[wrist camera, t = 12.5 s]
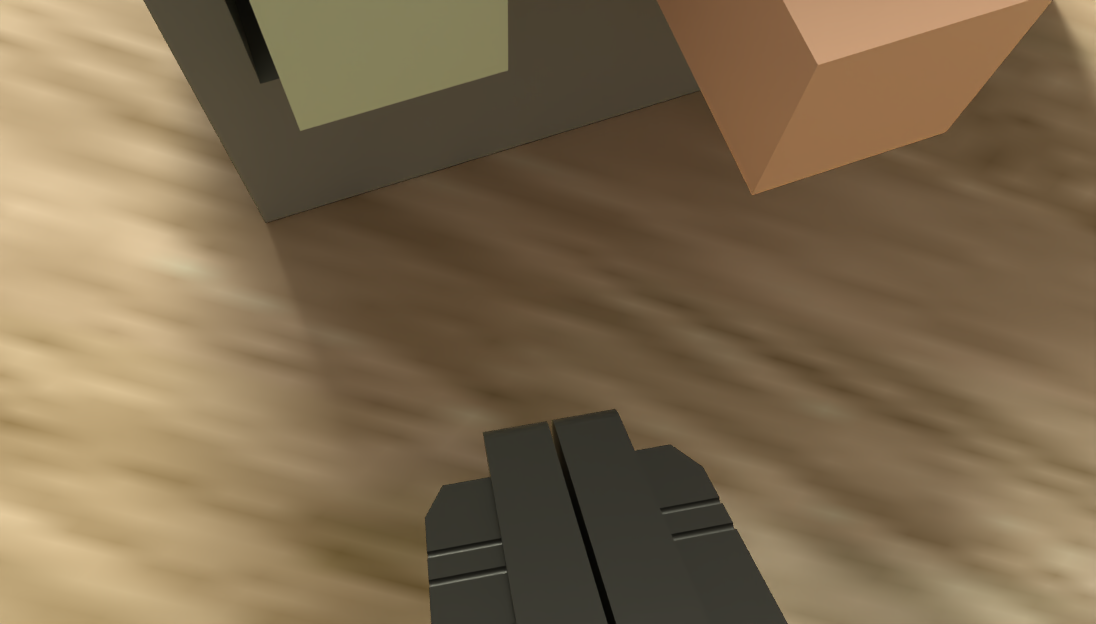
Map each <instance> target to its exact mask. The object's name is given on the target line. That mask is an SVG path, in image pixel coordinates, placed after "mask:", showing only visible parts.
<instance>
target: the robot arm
mask: <svg viewBox="0 0 1096 624" xmlns="http://www.w3.org/2000/svg"><path fill="white" fill-rule="evenodd" d="M551 428H552V435H551V432H550V429H549V426H548V423H547V421H545V422H540V423H534V424H528V425H523V426H517V427H511V428H505V429H500V430H494V431H488V432H483V436H484V442H485V448H486V455H487V461H488V467H489V473H490V477H488V478H482V479H477V480H471V481H466V482H460V483H455V484H449V485H443V486H442V488H441V490H440V491H439V493H438V495H437V497H436V499H435V501H434V502H433V504H432V506H431V508H430V510H429V512H428V513H427V515H426V517H425V525H426V542H427V554H428V575H429V584H430V587H429V592H430V609H431V624H788V623H787V622H786V620H785V618H784V616H783V614H782V612H781V611H780V609H779V607H778V605H777V603H776V601H775V599H774V598H773V596H772V594H771V592H770V590H769V588H768V586H767V585H766V583H765V581H764V579H763V577H762V575H761V574H760V572H759V570H758V568H757V566H756V564H755V562H754V561H753V559H752V557H751V555H750V553H749V551H748V550H747V548H746V546H745V544H744V542H743V540H742V538H741V537H740V535H739V533H738V531H737V529H734V527H733V522H732V520H731V518H730V516H729V514H728V513H727V511H726V509H725V507H724V505H723V503H720V500H719V496H718V494H717V492H716V490H715V489H714V487H713V485H712V483H711V481H710V479H709V478H708V476H707V474H706V472H705V470H704V468H703V467H702V466H701V465H699V464H698V463H696V462H695V461H693V460H692V459H691V458H689V457H688V456H686V455H685V454H683V453H682V452H681V451H679V450H678V449H676V448H675V447H673V446H672V445H665V446H659V447H654V448H648V449H643V450H637V451H635V450H634V448H633V446H632V444H631V441H630V439H629V437H628V434H627V432H626V430H625V428H624V425H623V423H622V421H621V418H620V416H619V414H618V412H617V411H616V410H615V409H613V410H607V411H601V412H596V413H590V414H584V415H578V416H573V417H567V418H561V419H556V420H552V422H551Z"/></svg>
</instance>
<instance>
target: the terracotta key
mask: <svg viewBox="0 0 1096 624" xmlns="http://www.w3.org/2000/svg"><path fill="white" fill-rule="evenodd" d="M657 2H658V4H659V6H660V8H661V10H662V12H663V14H664V16H665V18H666V21H667V23H668V25H669V27H670V29H671V31H672V33H673V35H674V37H675V39H676V41H677V43H678V45H679V47H680V49H681V51H682V53H683V55H684V57H685V59H686V61H687V64H688V66H689V68H690V70H691V72H692V74H693V76H694V78H695V80H696V82H697V84H698V86H699V88H700V90H701V92H702V94H703V96H704V98H705V100H706V102H707V104H708V107H709V109H710V111H711V113H712V115H713V117H714V119H715V121H716V123H717V125H718V127H719V129H720V131H721V133H722V135H723V137H724V139H725V141H726V143H727V145H728V147H729V150H730V152H731V154H732V156H733V158H734V160H735V162H736V164H737V166H738V168H739V170H740V172H741V174H742V176H743V178H744V180H745V182H746V184H747V186H748V188H749V190H750V193H751V195H755V194H758V193H761V192H764V191H767V190H770V189H773V188H776V187H779V186H782V185H785V184H789V183H792V182H795V181H798V180H801V179H804V178H807V177H810V176H813V175H816V174H819V173H822V172H825V171H828V170H832V169H835V168H838V167H841V166H844V165H847V164H850V163H853V162H856V161H859V160H862V159H865V158H868V157H871V156H874V155H878V154H881V153H884V152H887V151H890V150H893V149H896V148H899V147H902V146H905V145H908V144H911V143H914V142H917V141H921V140H924V139H927V138H930V137H933V136H936V135H939V134H942V133H945V132H947V130H948V129H949V128H950V127H951V125H952V124H953V123H954V122H955V120H956V119H957V118H958V117H959V116H960V114H961V113H962V112H963V111H964V109H965V108H966V107H967V106H968V104H969V103H970V102H971V101H972V99H973V98H974V97H975V96H976V94H977V93H978V92H979V91H980V90H981V88H982V87H983V86H984V85H985V83H986V82H987V81H988V80H989V78H990V77H991V76H992V75H993V73H994V72H995V71H996V70H997V68H998V67H999V66H1000V65H1001V64H1002V62H1003V61H1004V60H1005V59H1006V57H1007V56H1008V55H1009V54H1010V52H1011V51H1012V50H1013V49H1014V47H1015V46H1016V45H1017V44H1018V42H1019V41H1020V40H1021V39H1022V38H1023V36H1024V35H1025V34H1026V33H1027V31H1028V30H1029V29H1030V28H1031V26H1032V25H1033V24H1034V23H1035V21H1036V20H1037V19H1038V18H1039V16H1040V15H1041V14H1042V13H1043V12H1044V10H1045V9H1046V8H1047V7H1048V5H1049V4H1050V3H1051V2H1052V0H657Z"/></svg>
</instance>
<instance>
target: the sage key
mask: <svg viewBox="0 0 1096 624" xmlns="http://www.w3.org/2000/svg"><path fill="white" fill-rule="evenodd" d="M249 1H250V4H251V6H252V9H253V12H254V14H255V17H256V19H257V22H258V24H259V27H260V29H261V32H262V34H263V37H264V40H265V42H266V45H267V47H268V50H269V52H270V55H271V57H272V60H273V63H274V65H275V68H276V70H277V73H278V75H279V78H280V80H281V83H282V86H283V88H284V91H285V93H286V96H287V98H288V101H289V103H290V106H291V109H292V111H293V114H294V116H295V119H296V121H297V124H298V126H299V129H300V131H302V130H305V129H309V128H312V127H316V126H319V125H322V124H326V123H329V122H333V121H336V120H340V119H343V118H346V117H350V116H353V115H357V114H360V113H364V112H367V111H370V110H374V109H377V108H381V107H384V106H388V105H391V104H394V103H398V102H401V101H405V100H408V99H412V98H415V97H418V96H422V95H425V94H429V93H432V92H436V91H439V90H442V89H446V88H449V87H453V86H456V85H460V84H463V83H466V82H470V81H473V80H477V79H480V78H484V77H487V76H490V75H494V74H497V73H501V72H504V71H508V0H249Z"/></svg>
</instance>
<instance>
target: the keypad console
mask: <svg viewBox="0 0 1096 624" xmlns="http://www.w3.org/2000/svg"><path fill="white" fill-rule="evenodd" d="M143 1H144V2H145V4H146V6H147V8H148V10H149V11H150V13H151V15H152V17H153V19H154V21H155V22H156V24H157V26H158V28H159V30H160V31H161V33H162V35H163V37H164V39H165V41H166V42H167V44H168V46H169V48H170V50H171V51H172V53H173V55H174V57H175V59H176V61H177V62H178V64H179V66H180V68H181V70H182V72H183V73H184V75H185V77H186V79H187V81H188V82H189V84H190V86H191V88H192V90H193V92H194V93H195V95H196V97H197V99H198V101H199V102H200V104H201V106H202V108H203V110H204V112H205V113H206V115H207V117H208V119H209V121H210V122H211V124H212V126H213V128H214V130H215V132H216V133H217V135H218V137H219V139H220V141H221V142H222V144H223V146H224V148H225V150H226V152H227V153H228V155H229V157H230V159H231V161H232V163H233V164H234V166H235V168H236V170H237V172H238V173H239V175H240V177H241V179H242V181H243V183H244V184H245V186H246V188H247V190H248V192H249V193H250V195H251V197H252V199H253V201H254V203H255V204H256V206H257V208H258V210H259V212H260V213H261V215H262V217H263V219H264V221H265V223H267V222H270V221H273V220H277V219H280V218H283V217H286V216H290V215H293V214H296V213H299V212H303V211H306V210H309V209H313V208H316V207H319V206H322V205H326V204H329V203H332V202H336V201H339V200H342V199H345V198H349V197H352V196H355V195H359V194H362V193H365V192H368V191H372V190H375V189H378V188H381V187H385V186H388V185H391V184H395V183H398V182H401V181H404V180H408V179H411V178H414V177H418V176H421V175H424V174H427V173H431V172H434V171H437V170H441V169H444V168H447V167H450V166H454V165H457V164H460V163H463V162H467V161H470V160H473V159H477V158H480V157H483V156H486V155H490V154H493V153H496V152H500V151H503V150H506V149H509V148H513V147H516V146H519V145H523V144H526V143H529V142H532V141H536V140H539V139H542V138H545V137H549V136H552V135H555V134H559V133H562V132H565V131H568V130H572V129H575V128H578V127H582V126H585V125H588V124H591V123H595V122H598V121H601V120H605V119H608V118H611V117H614V116H618V115H621V114H624V113H628V112H631V111H634V110H637V109H641V108H644V107H647V106H650V105H654V104H657V103H660V102H664V101H667V100H670V99H673V98H677V97H680V96H683V95H687V94H690V93H693V92H696V91H700V88H699V86H698V84H697V82H696V80H695V78H694V76H693V74H692V72H691V70H690V68H689V66H688V64H687V61H686V59H685V57H684V55H683V53H682V51H681V49H680V47H679V45H678V43H677V41H676V39H675V37H674V35H673V33H672V31H671V29H670V27H669V25H668V23H667V21H666V18H665V16H664V14H663V12H662V10H661V8H660V6H659V4H658V2H657V0H508V71H504V72H501V73H497V74H494V75H490V76H487V77H484V78H480V79H477V80H473V81H470V82H466V83H463V84H460V85H456V86H453V87H449V88H446V89H442V90H439V91H436V92H432V93H429V94H425V95H422V96H418V97H415V98H412V99H408V100H405V101H401V102H398V103H394V104H391V105H388V106H384V107H381V108H377V109H374V110H370V111H367V112H364V113H360V114H357V115H353V116H350V117H346V118H343V119H340V120H336V121H333V122H329V123H326V124H322V125H319V126H316V127H312V128H309V129H305V130H302V131H300V129H299V126H298V124H297V121H296V119H295V116H294V114H293V111H292V109H291V106H290V103H289V101H288V98H287V96H286V93H285V91H284V88H283V86H282V83H281V80H280V78H279V75H278V73H277V70H276V68H275V65H274V63H273V60H272V57H271V55H270V52H269V50H268V47H267V45H266V42H265V40H264V37H263V34H262V32H261V29H260V27H259V24H258V22H257V19H256V17H255V14H254V12H253V9H252V6H251V4H250V1H249V0H143Z"/></svg>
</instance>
